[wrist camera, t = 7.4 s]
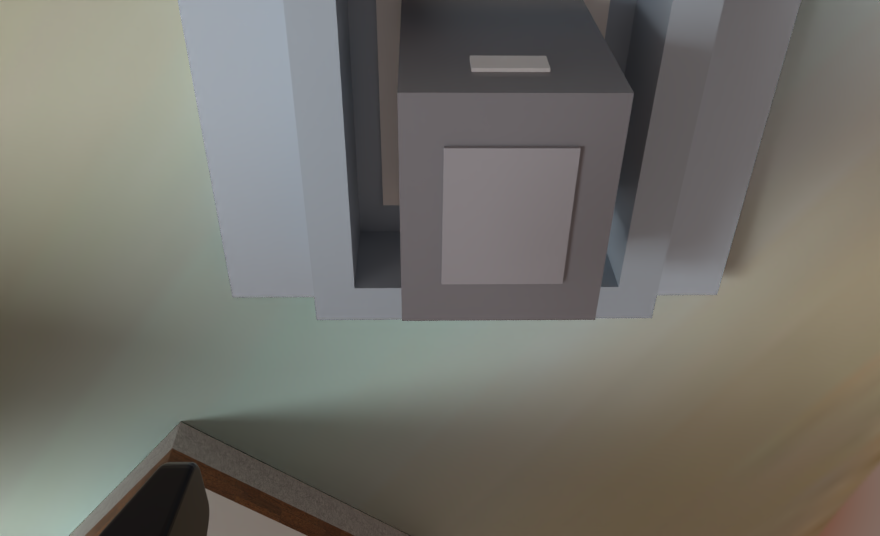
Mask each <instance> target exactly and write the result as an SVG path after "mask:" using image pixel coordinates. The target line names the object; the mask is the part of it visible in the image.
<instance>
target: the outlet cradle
mask: <svg viewBox="0 0 880 536" xmlns="http://www.w3.org/2000/svg"><path fill="white" fill-rule="evenodd" d="M583 1H584V2H585V4H586V6H587V8H588V10H589V12H590V13H591V15H592V17H593V19H594V21H595V23H596V24H597V26H598V28H599V30H600V32H601V34H602V35H603V37H604V39H605V41H606V43H607V45H608V46H609V48H610V50H611V52H612V54H613V56H614V57H615V59H616V61H617V63H618V65H619V67H620V68H621V70H622V72H623V74H624V76H625V78H626V79H627V81H628V83H629V85H630V87H631V88H632V90H633V92H634V97H633V102H632V108H631V114H630V120H629V126H628V131H627V137H626V143H625V149H624V155H623V161H622V166H621V172H620V178H619V184H618V190H617V195H616V201H615V207H614V213H613V219H612V224H611V230H610V236H609V242H608V248H607V253H606V259H605V265H604V271H603V277H602V282H601V288H600V294H599V300H598V306H597V312H596V317H595V318H652V315H653V310H654V306H655V302H656V297H657V295H717V293H718V290H719V286H720V283H721V279H722V276H723V272H724V269H725V265H726V262H727V258H728V255H729V251H730V248H731V244H732V241H733V237H734V234H735V230H736V227H737V223H738V220H739V216H740V213H741V209H742V206H743V202H744V199H745V196H746V192H747V189H748V185H749V182H750V178H751V175H752V171H753V168H754V164H755V161H756V157H757V154H758V150H759V147H760V143H761V140H762V136H763V133H764V129H765V126H766V122H767V119H768V115H769V112H770V108H771V105H772V101H773V98H774V94H775V91H776V87H777V84H778V80H779V77H780V73H781V70H782V66H783V63H784V59H785V56H786V52H787V49H788V45H789V42H790V38H791V35H792V31H793V28H794V24H795V21H796V17H797V14H798V10H799V7H800V3H801V0H583ZM401 2H402V0H178V4H179V10H180V15H181V21H182V26H183V31H184V37H185V42H186V48H187V53H188V58H189V64H190V69H191V75H192V80H193V85H194V91H195V96H196V102H197V107H198V113H199V118H200V123H201V129H202V134H203V140H204V145H205V150H206V156H207V161H208V167H209V172H210V177H211V183H212V188H213V194H214V199H215V205H216V210H217V215H218V221H219V226H220V232H221V237H222V242H223V248H224V253H225V259H226V264H227V269H228V275H229V280H230V286H231V291H232V296H233V297H314V299H315V308H316V318H317V320H384V319H402V302H401V253H400V203H399V154H398V105H397V87H398V66H399V44H400V23H401Z"/></svg>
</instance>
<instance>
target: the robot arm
mask: <svg viewBox="0 0 880 536" xmlns="http://www.w3.org/2000/svg"><path fill="white" fill-rule="evenodd" d="M208 524H209V502H208V498H207V494H206V490H205V486H204V482H203V479H202V475H201V471H200V468H199V466H198V465H197V464H196V463H194V462H168V463H164V464H162V465H161V466H160V467H159V468H158V469H157V470H156V471H155V472H154V473H153V474H152V475H151V476H150V478H149V479H148V480H147V481H146V482H145V483H144V484H143V485H142V487H141V488H140V489H139V490H138V491H137V492H136V493H135V494H134V496H133V497H132V498H131V499H130V500H129V501H128V502H127V503H126V505H125V506H124V507H123V508H122V509H121V510H120V511H119V512H118V514H117V515H116V516H115V517H114V518H113V519H112V520H111V521H110V523H109V524H108V525H107V526H106V527H105V528H104V529H103V530H102V532H101V533H100V534H99V535H98V536H207V531H208Z"/></svg>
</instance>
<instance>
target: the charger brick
mask: <svg viewBox="0 0 880 536" xmlns="http://www.w3.org/2000/svg"><path fill="white" fill-rule="evenodd" d="M633 97H634V92H633V90H632V88H631V87H630V85H629V83H628V81H627V79H626V78H625V76H624V74H623V72H622V70H621V68H620V67H619V65H618V63H617V61H616V59H615V57H614V56H613V54H612V52H611V50H610V48H609V46H608V45H607V43H606V41H605V39H604V37H603V35H602V34H601V32H600V30H599V28H598V26H597V24H596V23H595V21H594V19H593V17H592V15H591V13H590V12H589V10H588V8H587V6H586V4H585V2H584V1H583V0H402V2H401V23H400V44H399V66H398V87H397V105H398V154H399V203H400V253H401V302H402V321H438V320H595V317H596V312H597V306H598V300H599V294H600V288H601V282H602V277H603V271H604V265H605V259H606V253H607V248H608V242H609V236H610V230H611V224H612V219H613V213H614V207H615V201H616V195H617V190H618V184H619V178H620V172H621V166H622V161H623V155H624V149H625V143H626V137H627V131H628V126H629V120H630V114H631V108H632V102H633Z"/></svg>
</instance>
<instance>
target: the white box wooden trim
mask: <svg viewBox="0 0 880 536" xmlns="http://www.w3.org/2000/svg"><path fill="white" fill-rule="evenodd" d="M168 462H194V463H196V464H197V465H198V466H199V468H200V471H201V475H202V479H203V482H204V486H205V490H206V494H207V498H208V502H209V524H208V531H207V536H409V535H407V534H405V533H403V532H401V531H399V530H397V529H395V528H393V527H391V526H389V525H387V524H385V523H383V522H381V521H379V520H377V519H375V518H373V517H371V516H369V515H367V514H365V513H363V512H361V511H359V510H357V509H355V508H353V507H351V506H349V505H347V504H345V503H343V502H341V501H339V500H337V499H335V498H333V497H331V496H329V495H327V494H325V493H323V492H321V491H319V490H317V489H315V488H313V487H311V486H309V485H307V484H305V483H303V482H301V481H299V480H297V479H295V478H293V477H291V476H289V475H287V474H285V473H283V472H281V471H279V470H277V469H275V468H273V467H271V466H269V465H267V464H265V463H263V462H260V461H258V460H256V459H254V458H252V457H250V456H248V455H246V454H244V453H242V452H240V451H238V450H236V449H234V448H232V447H230V446H228V445H226V444H224V443H222V442H220V441H218V440H216V439H214V438H212V437H210V436H208V435H206V434H204V433H202V432H200V431H198V430H196V429H194V428H192V427H190V426H188V425H186V424H184V423H182V422H180V423H179V424H178V425H177V426H176V427H175V428H174V429H173V430H172V431H171V432H170V433H169V434H168V435H167V436H166V437H165V438H164V439H163V440H162V441H161V442H160V443H159V444H158V445H157V446H156V447H155V448H154V449H153V450H152V451H151V452H150V454H149V455H148V456H147V457H146V458H145V459H144V460H143V461H142V462H141V463H140V464H139V465H138V466H137V467H136V468H135V469H134V470H133V471H132V472H131V473H130V474H129V475H128V476H127V477H126V478H125V479H124V480H123V481H122V482H121V483H120V484H119V485H118V486H117V487H116V488H115V489H114V490H113V491H112V492H111V493H110V494H109V495H108V496H107V497H106V498H105V499H104V500H103V501H102V502H101V503H100V504H99V505H98V507H97V508H96V509H95V510H94V511H93V512H92V513H91V514H90V515H89V516H88V517H87V518H86V519H85V520H84V521H83V522H82V523H81V524H80V525H79V526H78V527H77V528H76V529H75V530H74V531H73V532H72V533H71V534H70V535H69V536H98V535H99V534H100V533H101V532H102V530H103V529H104V528H105V527H106V526H107V525H108V524H109V523H110V521H111V520H112V519H113V518H114V517H115V516H116V515H117V514H118V512H119V511H120V510H121V509H122V508H123V507H124V506H125V505H126V503H127V502H128V501H129V500H130V499H131V498H132V497H133V496H134V494H135V493H136V492H137V491H138V490H139V489H140V488H141V487H142V485H143V484H144V483H145V482H146V481H147V480H148V479H149V478H150V476H151V475H152V474H153V473H154V472H155V471H156V470H157V469H158V468H159V467H160V466H161V465H162V464H164V463H168Z"/></svg>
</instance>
